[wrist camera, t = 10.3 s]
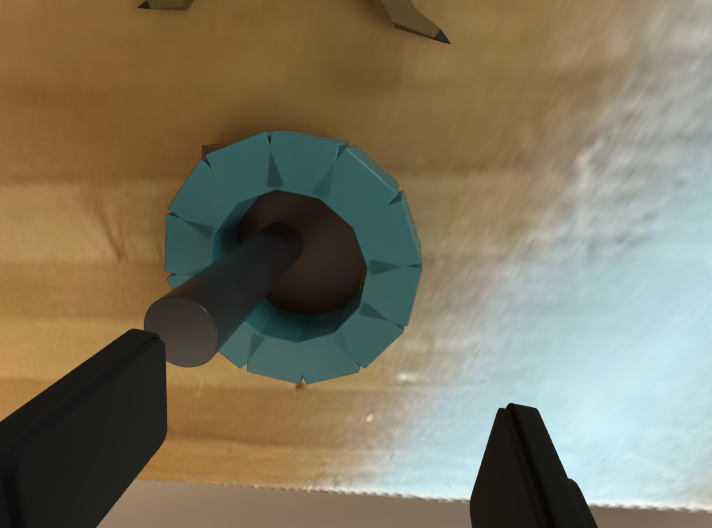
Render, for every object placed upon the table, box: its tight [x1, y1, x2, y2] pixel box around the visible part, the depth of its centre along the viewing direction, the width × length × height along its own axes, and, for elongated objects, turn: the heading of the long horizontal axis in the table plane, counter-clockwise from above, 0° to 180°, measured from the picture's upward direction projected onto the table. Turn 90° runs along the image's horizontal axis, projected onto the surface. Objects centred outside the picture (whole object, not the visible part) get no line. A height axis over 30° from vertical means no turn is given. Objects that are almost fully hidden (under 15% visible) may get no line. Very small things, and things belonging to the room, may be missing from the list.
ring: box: [165, 131, 422, 384], centre depth 20 cm, size 12×12×3 cm
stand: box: [144, 144, 365, 367], centre depth 18 cm, size 9×9×12 cm
